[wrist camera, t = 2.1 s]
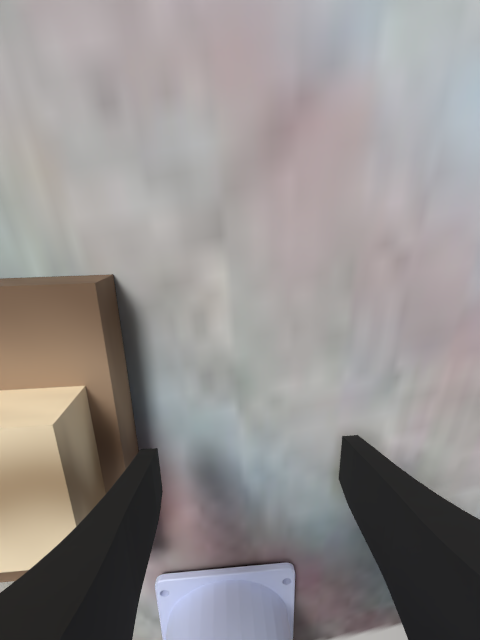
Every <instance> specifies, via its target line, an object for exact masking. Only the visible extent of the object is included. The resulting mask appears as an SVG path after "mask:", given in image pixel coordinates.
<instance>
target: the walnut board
mask: <svg viewBox="0 0 480 640" xmlns="http://www.w3.org/2000/svg"><path fill="white" fill-rule="evenodd" d="M73 386H85V387H86V393H87V398H88V403H89V408H90V414H91V419H92V424H93V429H94V435H95V440H96V445H97V450H98V455H99V461H100V466H101V471H102V476H103V482H104V487H105V492H106V493H107V492H108V491H109V490H110V488H111V487H112V486H113V485H114V483H115V482H116V481H117V480H118V479H119V477H120V476H121V475H122V473H123V472H124V471H125V470H126V468H127V467H128V466H129V464H130V463H131V462H132V460H133V459H134V458H135V456H136V455H137V454H138V452H139V450H138V443H137V436H136V429H135V422H134V415H133V408H132V401H131V395H130V388H129V381H128V374H127V367H126V360H125V353H124V346H123V339H122V332H121V325H120V318H119V312H118V305H117V298H116V291H115V284H114V277H113V275H89V276H61V277H33V278H5V279H0V391H1V390H19V389H37V388H55V387H73ZM27 571H28V570H25V571H13V572H2V573H0V582H9V581H16V580H17V579H19V578H20V577H21V576H22V575H24V574H25V573H26V572H27Z"/></svg>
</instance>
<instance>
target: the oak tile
mask: <svg viewBox="0 0 480 640" xmlns="http://www.w3.org/2000/svg"><path fill="white" fill-rule="evenodd" d="M105 494H106V492H105V487H104V482H103V476H102V471H101V466H100V461H99V455H98V450H97V445H96V440H95V435H94V429H93V424H92V419H91V414H90V408H89V403H88V398H87V393H86V387H85V386H73V387H55V388H37V389H19V390H1V391H0V573H2V572H13V571H25V570H30V569H31V568H32V567H33V566H34V565H35V564H37V563H38V562H39V561H40V560H41V559H42V558H43V557H45V556H46V555H47V554H48V553H49V552H50V551H51V550H53V549H54V548H55V547H56V546H57V545H58V544H59V543H60V542H61V541H62V540H63V539H64V538H65V537H66V536H67V535H68V534H69V533H70V532H71V531H72V530H73V529H74V528H75V527H76V526H77V525H78V524H79V523H80V522H81V521H82V520H83V519H84V518H85V517H86V516H87V515H88V514H89V513H90V511H91V510H92V509H93V508H94V507H95V506H96V505H97V504H98V502H99V501H100V500H101V499H102V498H103V497H104V496H105Z"/></svg>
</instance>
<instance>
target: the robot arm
mask: <svg viewBox="0 0 480 640" xmlns="http://www.w3.org/2000/svg"><path fill="white" fill-rule="evenodd" d="M339 481H340V483H341V486H342V489H343V492H344V495H345V498H346V500H347V503H348V505H349V508H350V510H351V512H352V514H353V516H354V518H355V520H356V522H357V524H358V526H359V528H360V530H361V532H362V534H363V536H364V538H365V540H366V542H367V544H368V546H369V548H370V550H371V552H372V554H373V556H374V558H375V560H376V562H377V564H378V566H379V568H380V570H381V573H382V575H383V577H384V579H385V581H386V584H387V586H388V589H389V591H390V594H391V596H392V599H393V601H394V604H395V606H396V609H397V611H398V614H399V616H400V619H401V622H402V624H403V627H404V629H405V632H406V634H407V637H408V640H480V520H479V519H478V518H476V517H474V516H472V515H470V514H469V513H467V512H465V511H463V510H462V509H460V508H459V507H457V506H455V505H454V504H452V503H450V502H449V501H447V500H445V499H444V498H442V497H441V496H439V495H437V494H436V493H434V492H433V491H431V490H430V489H429V488H427V487H426V486H424V485H423V484H421V483H420V482H418V481H417V480H415V479H414V478H413V477H411V476H410V475H409V474H407V473H406V472H404V471H403V470H402V469H400V468H399V467H398V466H396V465H395V464H394V463H393V462H391V461H390V460H389V459H387V458H386V457H385V456H384V455H382V454H381V453H380V452H378V451H377V450H376V449H375V448H373V447H372V446H371V445H370V444H368V443H367V442H366V441H365V440H363V439H362V438H361V437H359V436H358V435H354V436H342V447H341V459H340V470H339ZM162 492H163V491H162V483H161V475H160V466H159V458H158V449H157V448H156V449H141V450H140V451H139V452H138V454H137V455H136V456H135V458H134V459H133V460H132V462H131V463H130V464H129V466H128V467H127V468H126V470H125V471H124V472H123V473H122V475H121V476H120V477H119V479H118V480H117V481H116V482H115V483H114V485H113V486H112V487H111V488H110V490H109V491H108V492H107V493H106V494H105V496H104V497H103V498H102V499H101V500H100V501H99V502H98V504H97V505H96V506H95V507H94V508H93V509H92V510H91V511H90V513H89V514H88V515H87V516H86V517H85V518H84V519H83V520H82V521H81V522H80V523H79V524H78V525H77V526H76V527H75V528H74V529H73V530H72V531H71V532H70V533H69V534H68V535H67V536H66V537H65V538H64V539H63V540H62V541H61V542H60V543H59V544H58V545H57V546H56V547H55V548H54V549H53V550H51V551H50V552H49V553H48V554H47V555H46V556H45V557H43V558H42V559H41V560H40V561H39V562H38V563H37V564H35V565H34V566H33V567H32V568H31V569H30V570H28V571H27V572H26V573H25V574H24V575H22V576H21V577H20V578H19V579H17V580H16V581H15V582H14V583H12V584H11V585H10V586H9V587H7V588H6V589H5V590H4V591H2V592H1V593H0V640H132V637H133V631H134V625H135V619H136V613H137V607H138V602H139V598H140V593H141V589H142V585H143V581H144V577H145V573H146V569H147V565H148V561H149V557H150V553H151V549H152V545H153V541H154V537H155V533H156V529H157V525H158V520H159V514H160V507H161V499H162ZM155 591H156V597H157V604H158V611H159V617H160V624H161V631H162V638H163V640H293V623H294V595H295V570H294V566H293V565H292V564H291V563H286V562H285V563H275V564H264V565H253V566H242V567H232V568H221V569H210V570H199V571H189V572H178V573H167V574H161V575H160V576H158V577H157V578H156V583H155Z"/></svg>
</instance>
